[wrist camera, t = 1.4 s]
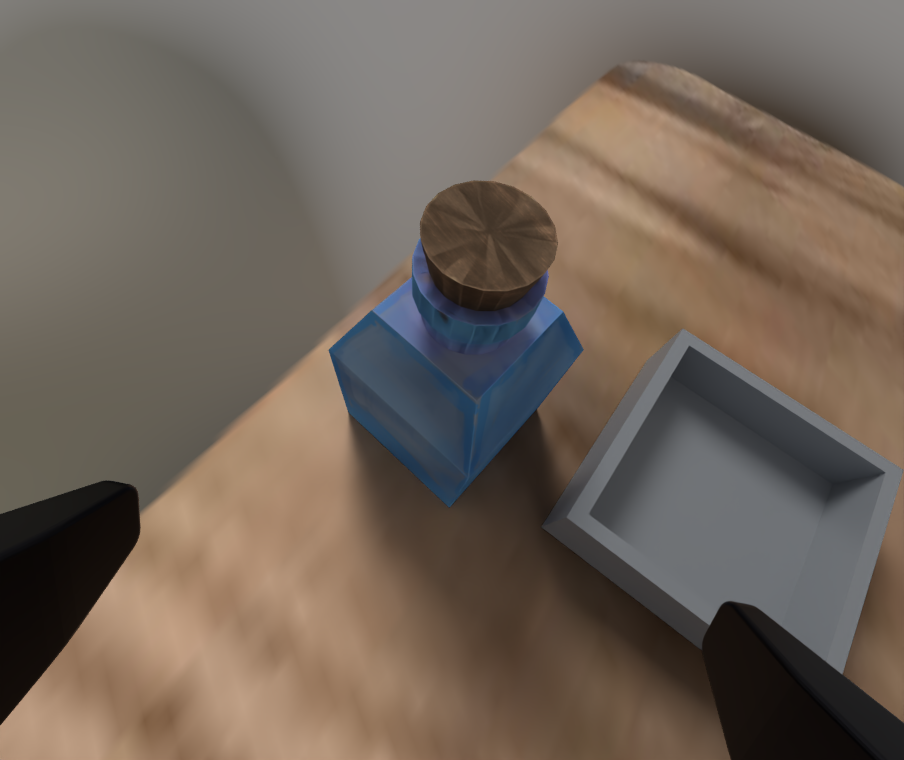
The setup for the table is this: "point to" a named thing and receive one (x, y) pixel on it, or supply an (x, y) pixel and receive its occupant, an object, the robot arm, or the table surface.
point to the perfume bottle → (461, 338)
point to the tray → (729, 502)
